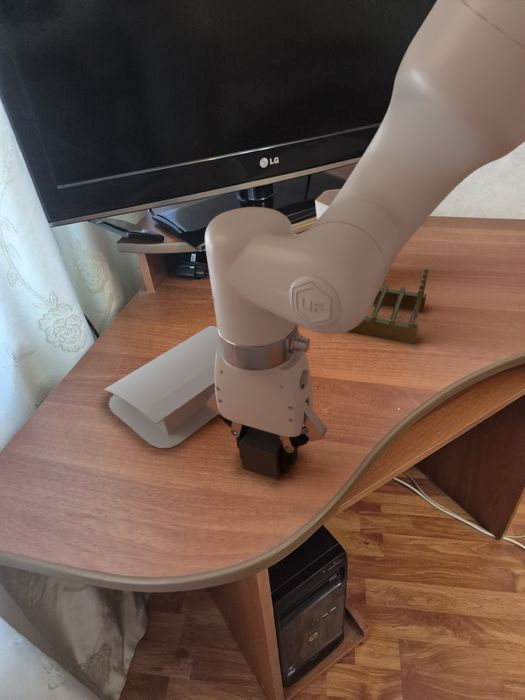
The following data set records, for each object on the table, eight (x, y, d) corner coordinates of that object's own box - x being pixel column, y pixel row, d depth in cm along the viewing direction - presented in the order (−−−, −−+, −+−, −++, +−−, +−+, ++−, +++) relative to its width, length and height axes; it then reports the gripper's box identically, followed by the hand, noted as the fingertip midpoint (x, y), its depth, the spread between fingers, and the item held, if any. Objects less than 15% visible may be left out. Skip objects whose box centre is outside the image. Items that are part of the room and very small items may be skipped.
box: (292, 448, 55) (291, 423, 52) (277, 480, 52) (275, 455, 49) (259, 438, 57) (256, 414, 54) (242, 468, 53) (238, 443, 51)
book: (282, 365, 68) (281, 345, 66) (163, 456, 56) (156, 435, 53) (216, 330, 77) (213, 311, 75) (100, 401, 64) (92, 382, 62)
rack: (423, 308, 78) (432, 264, 73) (414, 344, 71) (423, 297, 65) (362, 298, 82) (366, 255, 77) (347, 331, 74) (350, 286, 69)
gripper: (352, 334, 43) (342, 454, 54) (202, 305, 49) (221, 419, 60) (330, 382, 37) (324, 505, 49) (164, 343, 43) (193, 460, 54)
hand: (267, 456), depth 54 cm, fingers closed on box, 4 cm apart
